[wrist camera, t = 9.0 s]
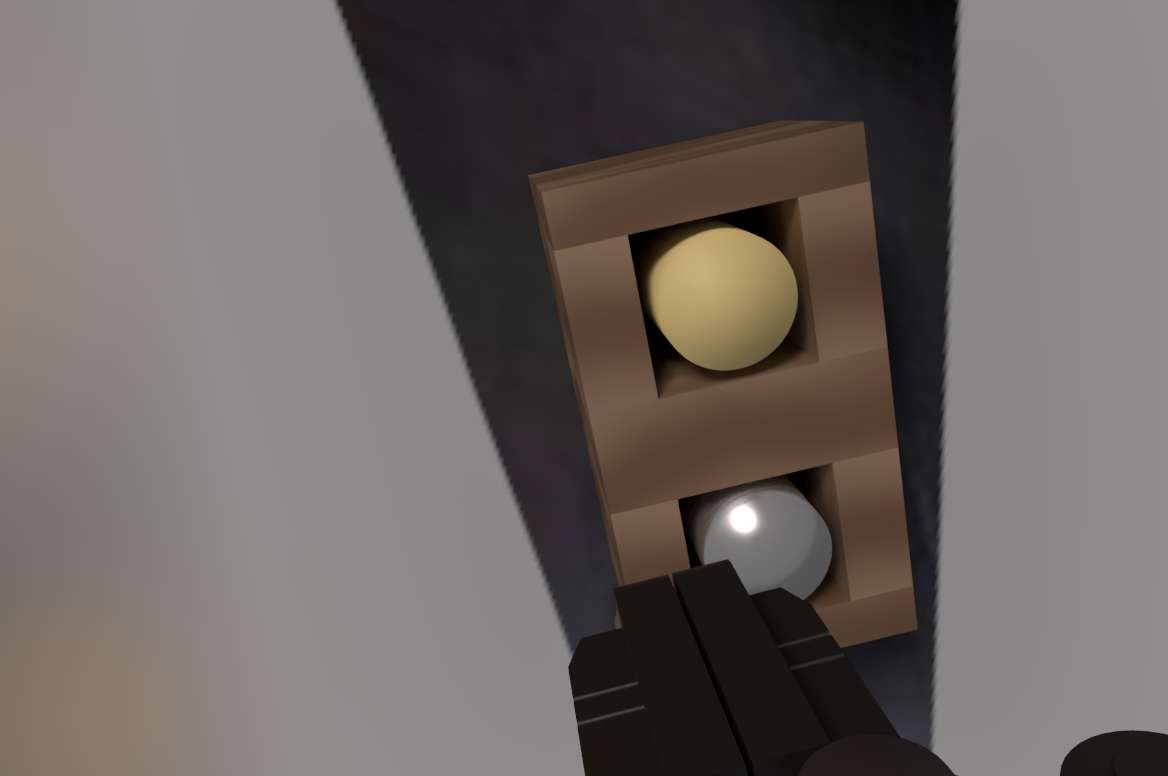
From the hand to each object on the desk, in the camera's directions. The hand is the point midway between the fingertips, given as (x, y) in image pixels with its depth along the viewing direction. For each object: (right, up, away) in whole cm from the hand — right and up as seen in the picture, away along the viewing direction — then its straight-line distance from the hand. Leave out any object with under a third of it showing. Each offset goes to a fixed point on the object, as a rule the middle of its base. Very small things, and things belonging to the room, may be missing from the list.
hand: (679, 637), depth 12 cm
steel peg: (+4, 0, +28) cm, 28 cm away
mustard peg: (+2, +8, +25) cm, 26 cm away
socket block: (+3, +4, +26) cm, 27 cm away
